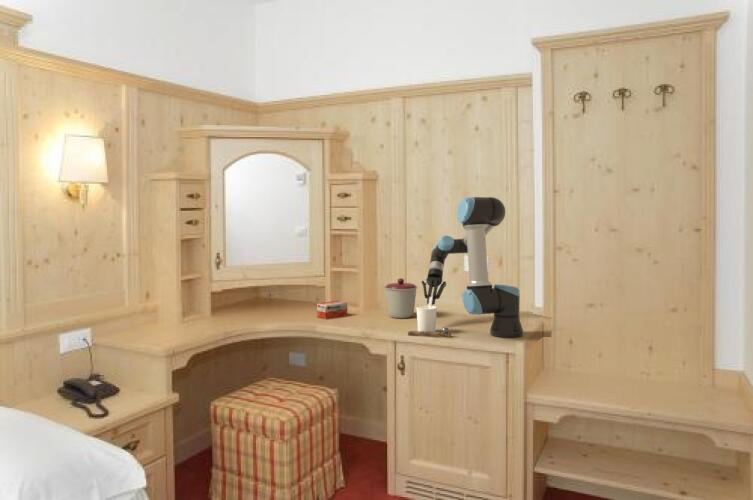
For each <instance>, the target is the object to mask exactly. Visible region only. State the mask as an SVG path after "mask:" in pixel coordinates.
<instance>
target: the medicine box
mask: <svg viewBox="0 0 753 500" xmlns="http://www.w3.org/2000/svg"><path fill="white" fill-rule="evenodd" d="M316 311H317V312H316V315H317V317H316V318H319V319H323V320H331V319H338V318H344V317H348V301H343V300H332V301H326V302H318V303H317V305H316Z"/></svg>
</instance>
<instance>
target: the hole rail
mask: <svg viewBox="0 0 753 500" xmlns="http://www.w3.org/2000/svg"><path fill="white" fill-rule="evenodd" d="M407 336H412V337H429V338H431V337H432V338H447V339H449V338H451V337H452V332H448V334H443V333H442V331H441V332H439V331H435V332H424V331H418V330H409V331H408V332H407Z"/></svg>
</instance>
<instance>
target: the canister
mask: <svg viewBox="0 0 753 500" xmlns="http://www.w3.org/2000/svg"><path fill="white" fill-rule="evenodd" d="M383 288H384V289H385V296H386V297H385V298H386V305H387V312H388V315H389V316H390V317H391V318H393V319H408V318H409V319H410V318H412V316H413V315H414V313H415V308H416V306H415V305H416V297H417V295H416V294H417V289H418V286H417V285H415V284H413V283H410V282H405V280H404V279H403V278H398V279H397V282H393V283H388V284H386V285H385V286H384V287H383Z"/></svg>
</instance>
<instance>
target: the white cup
mask: <svg viewBox="0 0 753 500" xmlns="http://www.w3.org/2000/svg"><path fill="white" fill-rule="evenodd" d="M415 308H416V320H417V321H416V322H417V323H416V324H417V331H424V332H436V327H437V325H436V323H437V309H438V308H437V306H434V305H432V306H428V305H419V306H415Z"/></svg>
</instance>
